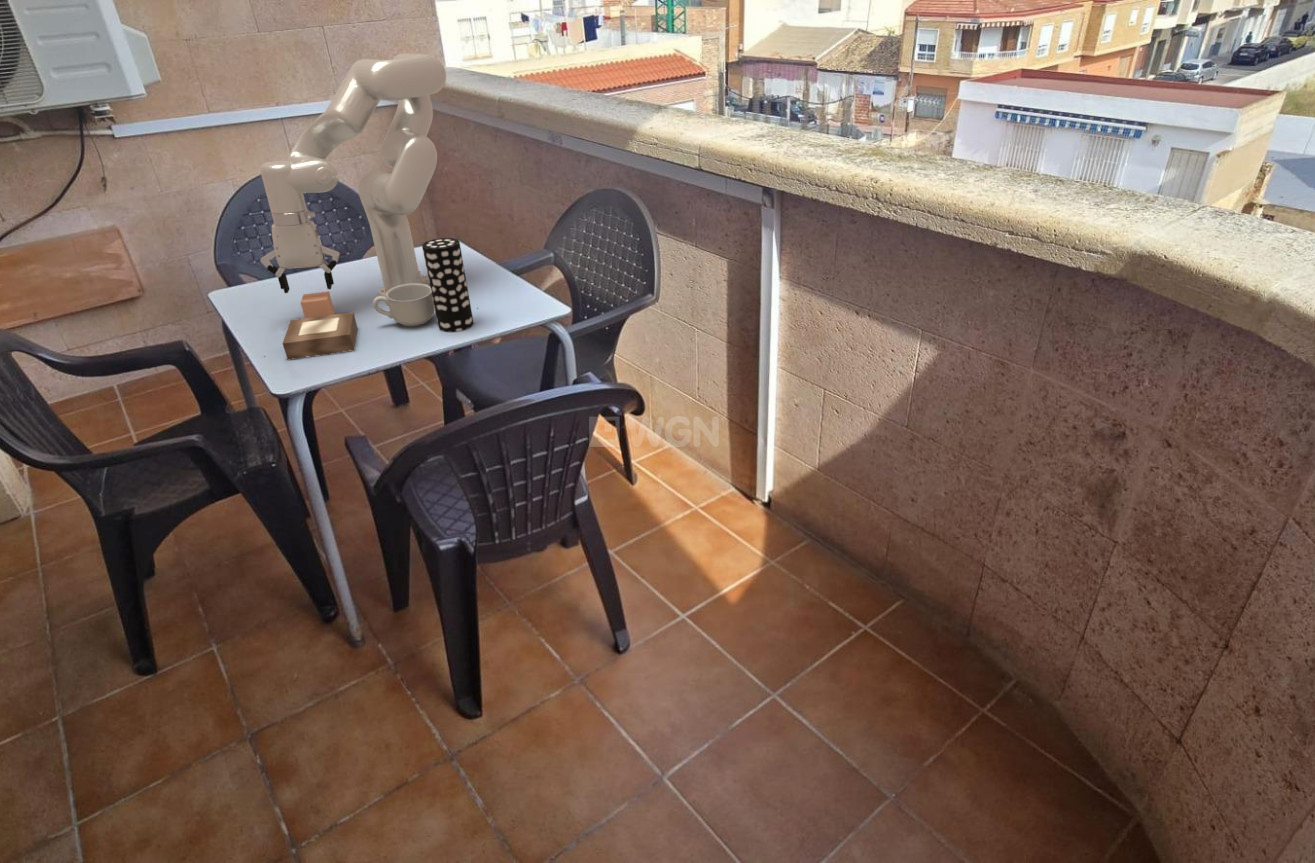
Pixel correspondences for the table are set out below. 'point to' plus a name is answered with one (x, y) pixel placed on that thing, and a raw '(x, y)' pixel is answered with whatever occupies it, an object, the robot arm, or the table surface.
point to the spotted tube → (448, 284)
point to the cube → (317, 304)
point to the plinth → (320, 335)
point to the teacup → (408, 304)
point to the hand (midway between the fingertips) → (308, 289)
